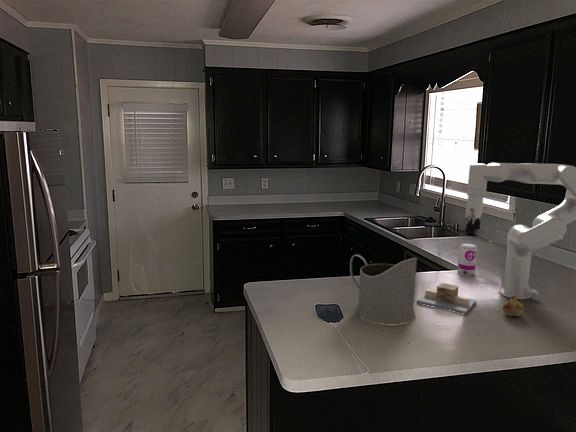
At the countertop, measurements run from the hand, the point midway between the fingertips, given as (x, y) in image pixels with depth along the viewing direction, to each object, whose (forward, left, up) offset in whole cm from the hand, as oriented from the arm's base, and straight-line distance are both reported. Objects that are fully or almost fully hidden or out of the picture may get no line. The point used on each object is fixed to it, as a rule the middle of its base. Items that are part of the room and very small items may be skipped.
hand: (472, 230), depth 209 cm
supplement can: (+8, -28, -28) cm, 41 cm away
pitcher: (+23, +45, -29) cm, 58 cm away
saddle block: (+3, +20, -27) cm, 34 cm away
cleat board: (+3, +20, -28) cm, 35 cm away
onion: (-22, +17, -29) cm, 40 cm away
